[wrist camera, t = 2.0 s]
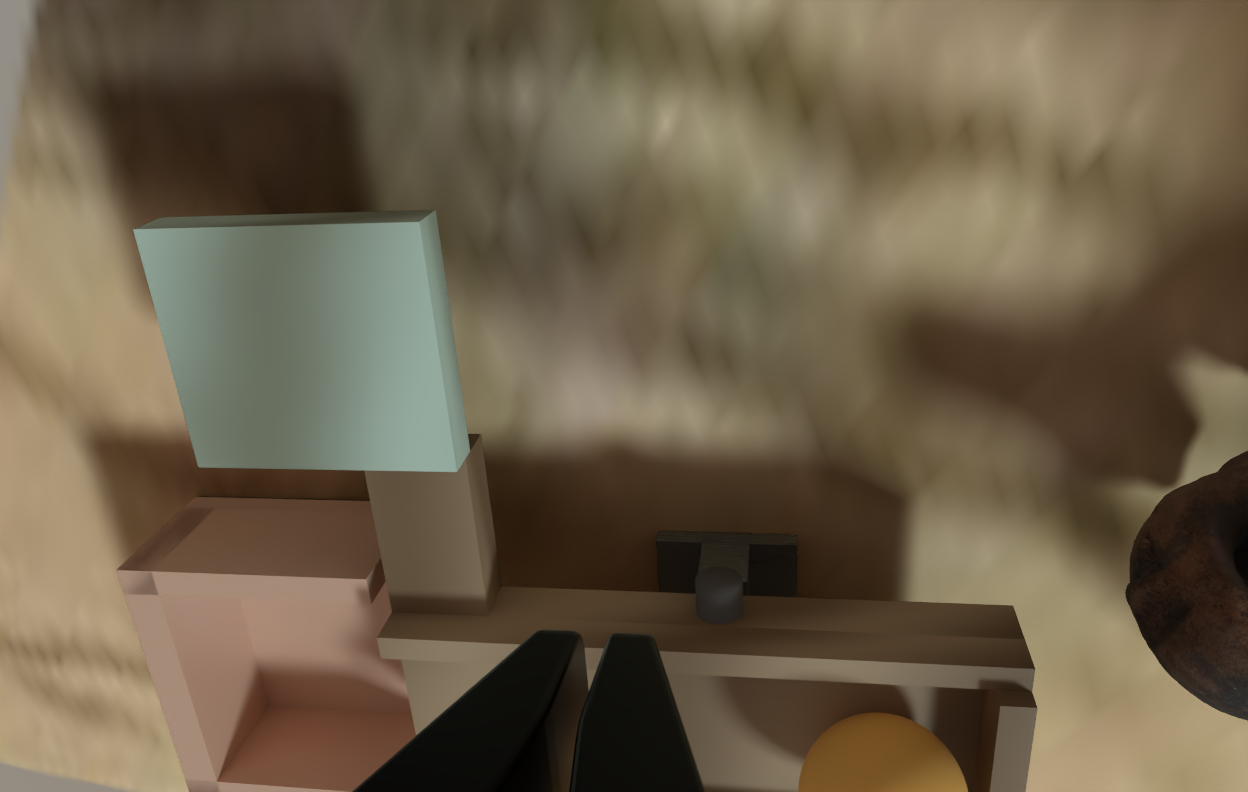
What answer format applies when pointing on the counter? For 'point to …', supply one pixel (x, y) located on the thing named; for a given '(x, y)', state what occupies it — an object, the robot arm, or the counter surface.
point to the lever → (463, 526)
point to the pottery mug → (1198, 586)
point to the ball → (880, 758)
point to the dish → (270, 643)
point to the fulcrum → (728, 561)
